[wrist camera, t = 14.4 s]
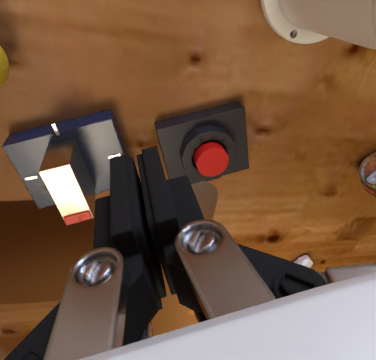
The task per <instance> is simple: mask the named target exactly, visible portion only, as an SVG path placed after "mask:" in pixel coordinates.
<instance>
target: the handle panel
mask: <svg viewBox="0 0 376 360" xmlns="http://www.w3.org/2000/svg"><path fill="white" fill-rule="evenodd" d="M71 138H75V139H76V141H77V144H78V146H79V148H80V151H81V153H82V156H83V158H84V160H85V163H86V165H87V168H88V170H89V173H90V175H91V177H92V180H93V182H94V185H95V187H96V188H95V194H96V193H100V192H104V191H108V190H110V158H112V157H116V156H120V155H124V154H125V155H126V157H127V154H126V151H125V148H124V146H123V143H122V140H121V137H120V134H119V131H118V128H117V125H116V122H115V119H114V116H113V113H112V110H111V109H110V110H106V111H102V112H98V113H94V114H90V115H86V116H82V117H78V118H74V119H70V120H66V121H62V122H58V123H52V124H50V125H46V126H42V127H38V128H34V129H30V130H26V131H22V132H18V133H14V134H10V135H9V136H8V137H7V139H6V141H5V142H4V144H3V146H2V147H3V149H4V150H5V152H6V154H7V155H8V157H9V159H10V160H11V162H12V164H13V165H14V167H15V169H16V171H17V172H18V174H19V176H20V177H21V179H22V181H23V182H24V184H25V186H26V187H27V189H28V191H29V192H30V194H31V196H32V198H33V199H34V201H35V203H36V204H37V206H38V208H44V207H48V206H52V205H55V202H54V200H53V199H52V197H51V195H50V193H49V191H48V189H47V187H46V185H45V183H44V181H43V180H42V178H41V176H40V174H39V169H40V166H41V163H42V160H43V157H44V155H45V152H46V149H47V146H48V144H50V143H54V142H58V141H63V140H67V139H71ZM127 158H128V157H127Z"/></svg>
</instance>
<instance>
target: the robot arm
mask: <svg viewBox="0 0 376 360" xmlns="http://www.w3.org/2000/svg"><path fill="white" fill-rule="evenodd" d="M260 3H261V8H262V11H263V14H264V17H265V19H266V21H267V23H268V24H269V26H270V27H271V29H272V30H273V31H274V32H275V33H276V34H277V35H279V36H280V37H282V38H284V39H285V40H288V41H290V42H294V43H299V44H311V43H315V42H319V41H322V40H324V39H326V38H328V37H332V38H335V39H339V40H342V41H346V42H349V43H353V44H356V45H360V46H363V47H367V48H370V49H374V50H376V0H260ZM291 32H292V33H291ZM290 33H291V35H290ZM137 160H138V167H139V173H140V178H139V175H138V172H137V169H136V166H135V163H134V160H133V157H128V158H127V157H126V155H125V154H124V155H120V156H116V157H112V158H110V196H106V197H102V198H99V199H97V200H96V208H95V230H94V247H93V250H91V251H89V252H87V253H86V254H84V255H83V256H82V257H80V258H79V259H78V260H77V261H76V262H75V264H74V265H73V266H72V269H71V271H70V273H69V276H68V279H67V283H66V286H65V289H64V293H63V296H62V299H61V302H60V303H59V304H58V305H57V306H56V307H55V308H54V309H53V310H52V311H51V312H50V313H49V314H48V315H47V316H46V317H45V318H44V319H43V320H42V321H41V322H40V323H39V324H38V325H37V326H36V327H35V328H34V329H33V330H32V331H31V332H30V333H29V334H28V335H27V336H26V337H25V339H24V340H23V341H22V342H21V343H20V344H19V345H18V346H17V347H16V348H15V349H14V350H13V351H12V352H11V353H10V354H9V355H8V356H7V357H6V358H5V360H376V263H375V264H363V265H352V266H340V267H328V268H326V270H325V272H318V273H317V272H316V271H315V270H313V269H310V268H308V267H306V266H303V265H300V264H297V263H294V262H291V261H288V260H285V259H282V258H279V257H276V256H273V255H270V254H267V253H264V252H261V251H258V250H255V249H252V248H249V247H246V246H243V245H240V244H237V243H236V242H235V241H234V239H233V238H232V237H231V235H230V234H229V232H228V231H227V230H226V228H225V227H224V226H223V225H222V224H220V223H218V222H216V221H214V220H207V219H204V217H203V214H202V212H201V209H200V207H199V204H198V202H197V199H196V197H195V194H194V192H193V189H192V186H191V184H190V181H189V179H188V177H187V175H184V176H180V177H176V178H173V179H169V180H166V178H165V175H164V171H163V168H162V164H161V161H160V157H159V154H158V150H157V147H156V146H154V147H151V148H147V149H143V150H142V154H140V155H137ZM140 179H141V182H140ZM161 265H162V268H163V271H164V274H165V277H166V280H167V283H168V285H169V288H170V292H171V294H172V295H173V294H177V296H178V300H179V303H180V304H182V305H184V306H186V307H188V308H190V309H192V310H194V313H195V316H196V318H197V321H198V323H196V324H193V325H190V326H187V327H183V328H180V329H177V330H173V331H170V332H167V333H164V334H160V335H158V336H154V337H153V327H152V322H151V320H152V319H153V317H154V316H155V314H156V313H157V312H158V310H160V309H162V303H161V298H163V297H166V289H165V284H164V279H163V273H162V268H161Z"/></svg>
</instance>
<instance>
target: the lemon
mask: <svg viewBox="0 0 376 360" xmlns="http://www.w3.org/2000/svg"><path fill="white" fill-rule="evenodd" d="M8 73H9V63H8V59H7V56H6V54H5V52H4V50H3V49H2V47H1V46H0V88H1V87H2V85H3V84H4V83H5V81H6V79H7V76H8Z"/></svg>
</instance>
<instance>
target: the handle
mask: <svg viewBox="0 0 376 360" xmlns="http://www.w3.org/2000/svg"><path fill="white" fill-rule="evenodd" d="M39 174H40V176H41V178H42V180H43V181H44V183H45V185H46V187H47V189H48V191H49V193H50V195H51V197H52V199H53V200H54V202H55V204H56V206H57V208H58V210H59V212H60V214H61V216H62V217H63V219H64V221H65V223H66V225H69V224H73V223H77V222H81V221H84V220H88V219H92V218H94V206H95V205H94V204H95V188H96V187H95V185H94V182H93V180H92V177H91V175H90V173H89V170H88V168H87V165H86V163H85V160H84V158H83V156H82V153H81V151H80V148H79V146H78V144H77V141H76V139H75V138H71V139H67V140H63V141H58V142H54V143H50V144H48V146H47V149H46V152H45V155H44V157H43V160H42V163H41V166H40V169H39Z"/></svg>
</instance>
